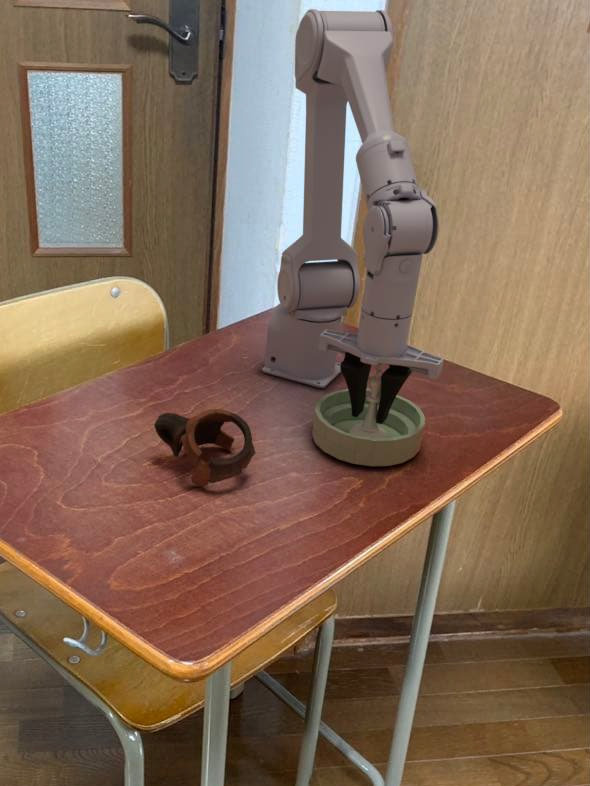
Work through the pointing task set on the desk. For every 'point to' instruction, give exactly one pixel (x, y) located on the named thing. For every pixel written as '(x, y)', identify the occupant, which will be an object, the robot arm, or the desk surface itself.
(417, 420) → the bowl
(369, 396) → the chess piece
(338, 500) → the desk surface
